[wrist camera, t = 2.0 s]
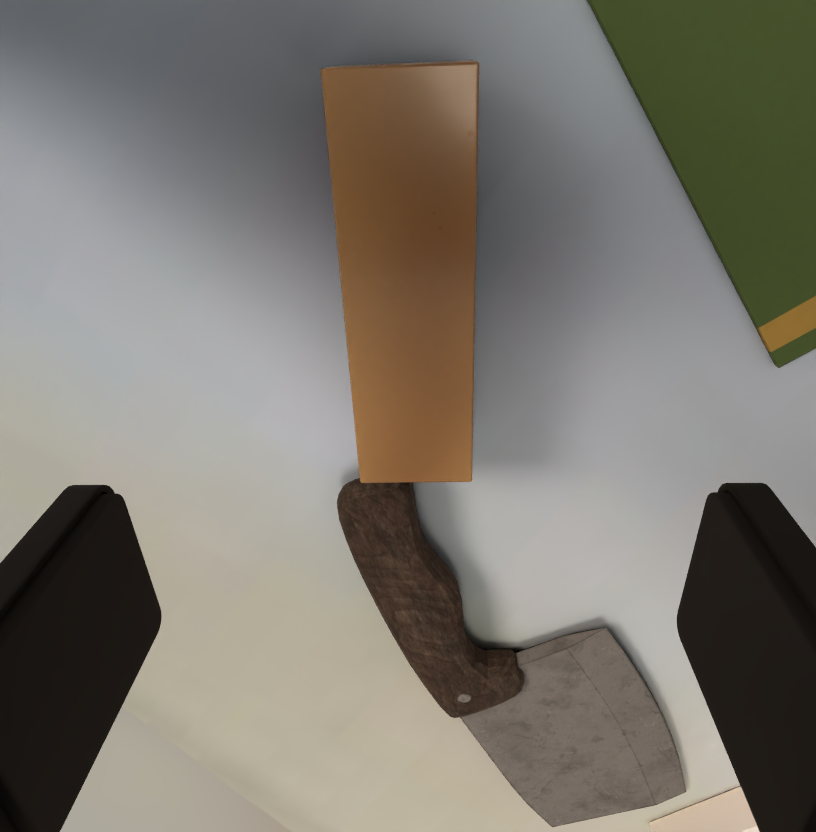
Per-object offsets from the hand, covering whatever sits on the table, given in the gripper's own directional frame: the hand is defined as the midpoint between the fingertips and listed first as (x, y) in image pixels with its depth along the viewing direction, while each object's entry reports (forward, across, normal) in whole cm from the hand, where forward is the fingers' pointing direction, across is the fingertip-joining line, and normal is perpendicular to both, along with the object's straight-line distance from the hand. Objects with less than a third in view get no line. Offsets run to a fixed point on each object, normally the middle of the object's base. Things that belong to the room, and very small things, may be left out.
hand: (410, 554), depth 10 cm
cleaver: (+14, -5, +21) cm, 25 cm away
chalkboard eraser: (+14, 0, 0) cm, 14 cm away
